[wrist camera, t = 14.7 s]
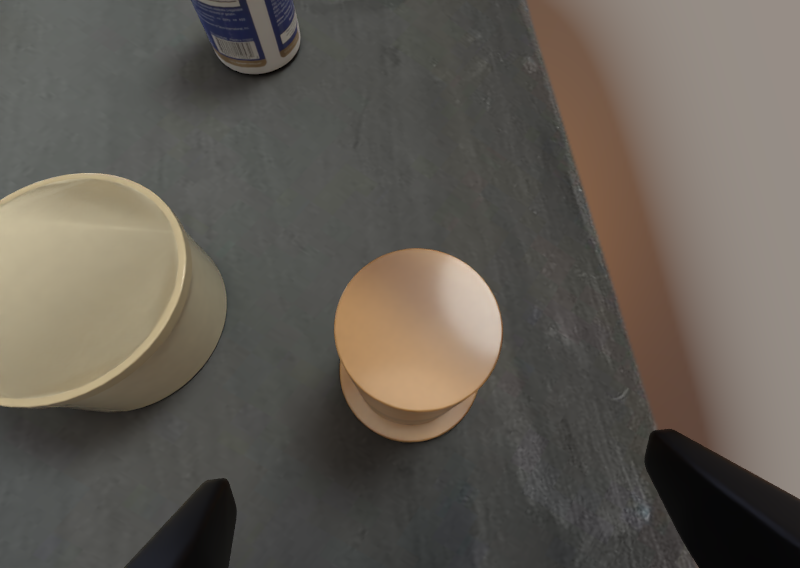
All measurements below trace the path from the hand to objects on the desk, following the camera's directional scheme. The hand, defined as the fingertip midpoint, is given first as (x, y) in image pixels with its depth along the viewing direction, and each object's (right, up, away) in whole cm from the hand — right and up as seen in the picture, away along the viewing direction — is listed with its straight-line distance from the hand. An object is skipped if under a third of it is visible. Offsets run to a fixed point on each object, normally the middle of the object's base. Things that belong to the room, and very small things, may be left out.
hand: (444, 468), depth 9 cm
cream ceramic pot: (-14, +2, +12) cm, 18 cm away
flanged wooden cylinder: (-1, 0, +11) cm, 11 cm away
